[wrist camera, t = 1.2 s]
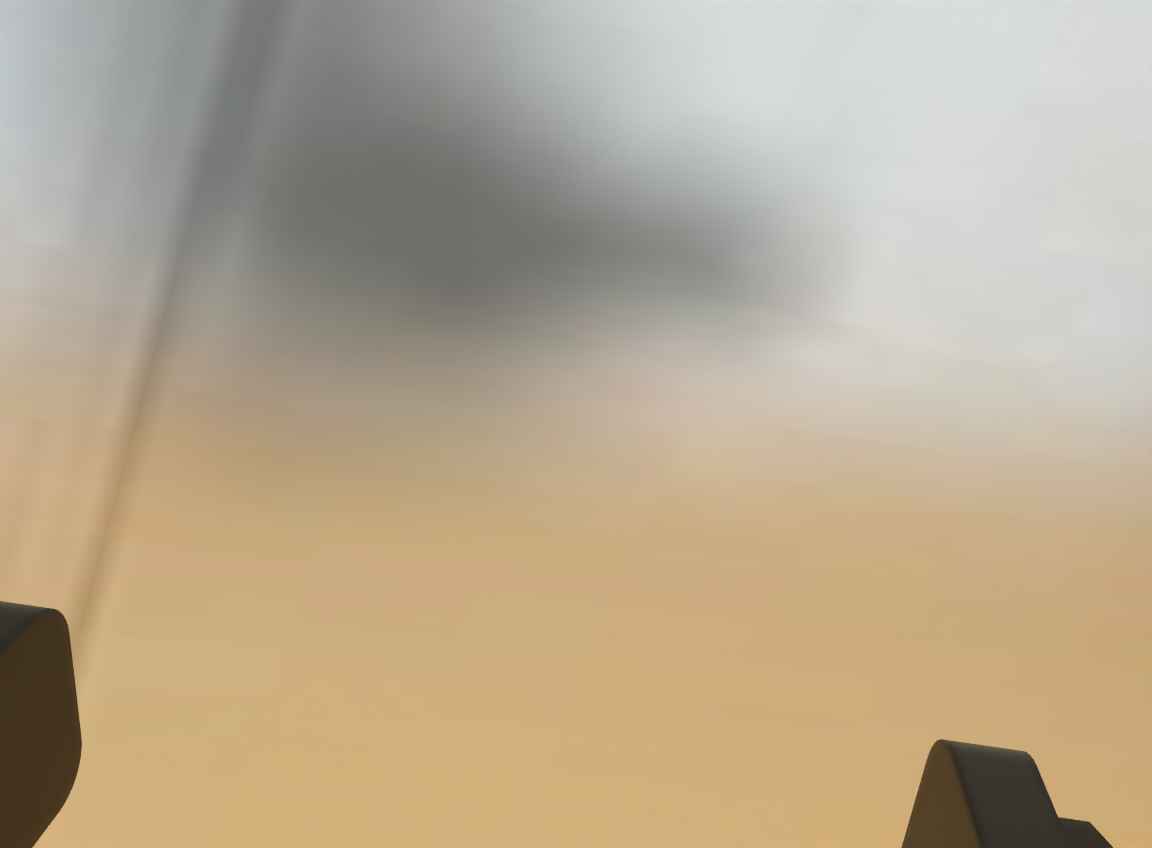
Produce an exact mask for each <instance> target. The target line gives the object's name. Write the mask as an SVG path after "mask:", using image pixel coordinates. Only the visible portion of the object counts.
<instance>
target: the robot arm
mask: <svg viewBox="0 0 1152 848" xmlns="http://www.w3.org/2000/svg"><path fill="white" fill-rule="evenodd" d="M81 747H82V741H81V730H80V721H79V713H78V704H77V696H76V687H75V678H74V670H73V661H72V653H71V644H70V636H69V629H68V625H67V622H66V619H65V618H64V616H63V614H61V613H60V612H59V611H58V610H55V609H50V608H43V607H36V606H30V605H23V604H16V603H9V602H2V601H0V848H32V847H33V846H34V845H35V843H36V842H37V841H38V839H39V838H40V837H41V835H42V834H43V833H44V831H45V830H46V829H47V827H48V826H49V825H50V823H51V822H52V821H53V819H54V818H55V817H56V815H57V814H58V813H59V811H60V810H61V808H62V807H63V805H64V803H65V802H66V800H67V798H68V796H69V794H70V791H71V789H72V787H73V784H74V781H75V779H76V775H77V772H78V768H79V763H80V757H81ZM902 848H1113V847H1112V846H1111V845H1110V844H1109V842H1108V841H1107V840H1106V839H1105V838H1104V837H1103V836H1102V835H1101V834H1100V833H1099V832H1098V831H1097V830H1096V828H1095V827H1094V826H1093V825H1092V824H1091V823H1090V822H1086V821H1080V820H1073V819H1066V818H1059V817H1058V816H1057V814H1056V811H1055V809H1054V806H1053V804H1052V802H1051V799H1050V797H1049V794H1048V792H1047V790H1046V787H1045V785H1044V782H1043V780H1042V778H1041V775H1040V773H1039V770H1038V768H1037V766H1036V764H1035V762H1034V760H1033V758H1032V757H1031V756H1030V755H1029V754H1028V753H1027V752H1024V751H1018V750H1011V749H1004V748H997V747H991V746H984V745H977V744H970V743H963V742H956V741H949V740H942V739H941V740H938V741H936V742H935V743H934V745H933V746H932V748H931V750H930V753H929V755H928V758H927V761H926V765H925V768H924V772H923V775H922V779H921V782H920V786H919V789H918V793H917V796H916V800H915V803H914V807H913V810H912V814H911V817H910V820H909V824H908V827H907V831H906V834H905V838H904V841H903V845H902Z"/></svg>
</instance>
